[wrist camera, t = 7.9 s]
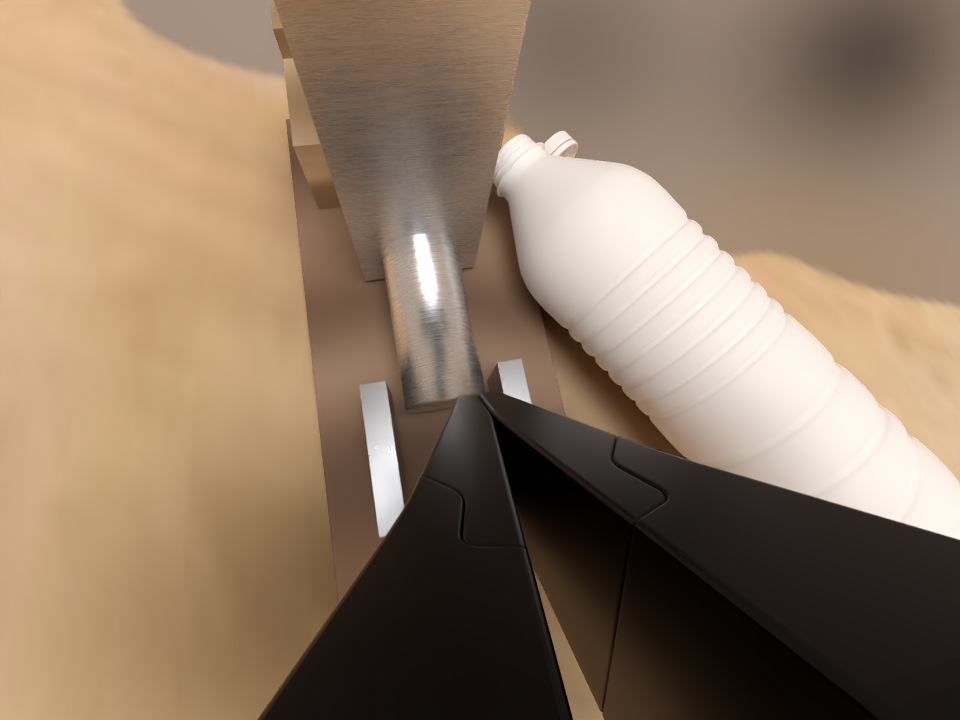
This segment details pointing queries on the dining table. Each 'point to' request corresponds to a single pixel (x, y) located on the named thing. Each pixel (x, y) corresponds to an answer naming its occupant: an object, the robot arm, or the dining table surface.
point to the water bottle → (706, 340)
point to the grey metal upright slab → (413, 157)
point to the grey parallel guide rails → (386, 439)
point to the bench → (388, 335)
